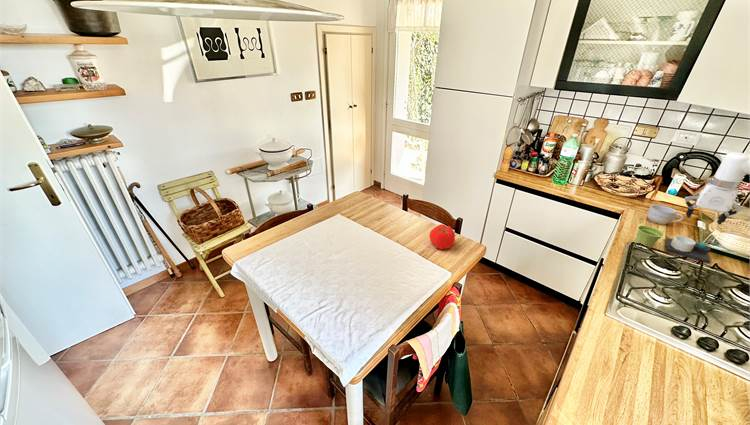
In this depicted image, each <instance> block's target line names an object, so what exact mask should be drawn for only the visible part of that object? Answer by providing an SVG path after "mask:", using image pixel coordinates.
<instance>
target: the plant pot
mask: <svg viewBox="0 0 750 425" xmlns="http://www.w3.org/2000/svg"><path fill="white" fill-rule="evenodd" d="M664 234H665V233H664V232H663V231H661V230H660V229H658V228H656V227H652V226H649V225H638V226H637V233H636V237H635V240H634V243H641V244H643V245H645V246H648V247H650V248H651V249H652V248H653V247H654V246H655V244H656V243H657V242H658V241H659V240H660V239H661V238H662V237H664V236H665V235H664Z"/></svg>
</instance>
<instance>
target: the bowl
mask: <svg viewBox="0 0 750 425" xmlns="http://www.w3.org/2000/svg"><path fill="white" fill-rule="evenodd" d="M672 239H673V240H672V242H671V246H672V247H673V248H674V249H676V250H679V251H682V252H690V251H692V249H693V247H694V246H695V244H696V243H697V241H696V240H694V239H692V238H690V237H688V236H684V235H678V234H677V235H674V237H672Z"/></svg>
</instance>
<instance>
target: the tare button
mask: <svg viewBox="0 0 750 425" xmlns="http://www.w3.org/2000/svg"><path fill="white" fill-rule="evenodd" d="M697 243H698V244H697V246H698V247H700V248H704V249H705V248H706V247H707V246H708V244H706V243H705V242H701V241H699V242H697Z"/></svg>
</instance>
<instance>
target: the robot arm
mask: <svg viewBox="0 0 750 425" xmlns="http://www.w3.org/2000/svg"><path fill="white" fill-rule="evenodd" d="M745 175H750V152H749V153H747V152H746V153H745V152H740V151H739V152H738V151H730V152H728V153H727V154H725V156H724V157H723V159H722V160H721V162H720V165H719V166H718V168H717V170H716V172H715V174H714V175H713V176H712V177H707V178H706V182H707V184H706V185H705V186H704V187H703V188H702V189H701V191H700V192H699V193H698V194H696V195H689V196H685V197H684V201H685V204H686V206H687V210H686V212H685V215H686V217H687V219H690V218H691V216H692V215H693V213H694V211H695V209H696V208H699V209H700V208H701V209H705V210H710V211H715V212H720V213H721V214H720V216H719V217H718V219H717V220H716V223H717V224H718V225H722V223H723V224H724V223H725V221H726V220H727V218H728V217H730V216H733V215H736V214H738V213H739V212H741V211H743V210H744V209H743V207H742V206H741V205H739V204H738V203H736V202H735V201H736V199H737V197H738V194H739V191H740V189H739V188H738V187H739V185H740V183H741V181H742V180H743V178H744V177H745ZM692 200H694V202H693V203H692V202H691V201H692ZM732 207H733V208H734V209H732ZM731 209H732V210H731Z"/></svg>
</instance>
